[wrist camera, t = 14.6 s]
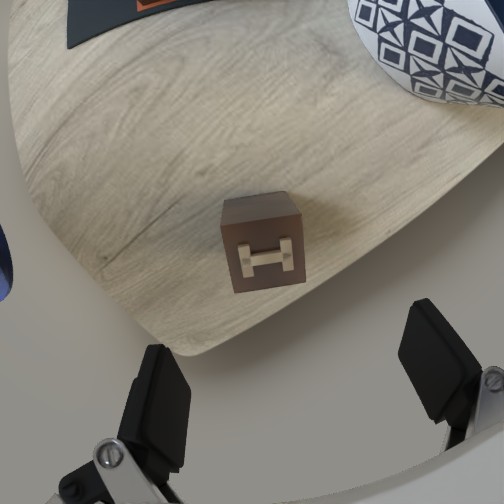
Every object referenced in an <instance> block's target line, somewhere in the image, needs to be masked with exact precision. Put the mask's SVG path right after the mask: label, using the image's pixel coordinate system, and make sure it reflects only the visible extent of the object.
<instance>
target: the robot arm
mask: <svg viewBox="0 0 504 504" xmlns="http://www.w3.org/2000/svg"><path fill="white" fill-rule="evenodd" d="M398 357H399V360H400V362H401V363H402V365H403V367H404V369H405V371H406V373H407V375H408V376H409V378H410V380H411V382H412V384H413V386H414V388H415V390H416V392H417V394H418V396H419V398H420V400H421V402H422V404H423V406H424V408H425V410H426V412H427V414H428V416H429V418H430V419H431V420H434V422H435V424H438V423H440V422H442V421H444V420H446V421H447V423H448V427H447V431H446V434H445V438H444V441H443V444H442V447H441V451H440V454H439V455H437V456H435V457H434V458H431V459H429V460H428V461H425V462H423V463H421V464H419V465H416V466H414V467H412V468H410V469H407V470H405V471H402V472H400V473H398V474H395V475H392V476H390V477H387V478H384V479H382V480H379V481H376V482H373V483H370V484H367V485H363V486H360V487H357V488H353V489H349V490H346V491H342V492H338V493H333V494H329V495H325V496H320V497H315V498H309V499H304V500H298V501H290V502H283V503H274V504H504V370H503V369H501V368H500V367H497V366H491V367H488V368H486V369H485V370H484V371H482V369H481V368H482V367H481V365H480V364H479V362H478V361H477V360H476V358H475V357H474V355H473V354H472V352H471V351H470V350H469V348H468V347H467V346H466V344H465V343H464V342H463V340H462V339H461V338H460V336H459V335H458V334H457V333H456V331H455V330H454V329H453V327H452V326H451V325H450V324H449V322H448V321H447V320H446V319H445V318H444V316H443V315H442V314H441V313H440V311H439V310H438V309H437V308H436V307H435V306H434V304H433V303H432V302H431V301H430V300H429V299H428V298H425V299H421V300H418V301H415V302H414V303H413V305H412V306H411V307H410V310H409V314H408V318H407V322H406V326H405V330H404V333H403V337H402V340H401V344H400V347H399V351H398ZM190 402H191V389H190V387H189V385H188V383H187V382H186V380H185V378H184V376H183V374H182V372H181V370H180V368H179V367H178V364H177V363H176V361H175V359H174V357H173V355H172V353H171V351H170V349H169V348H168V347H167V348H166V347H165V346H164V345H163V344H155V345H148V346H147V348H146V351H145V354H144V358H143V361H142V364H141V367H140V370H139V373H138V377H137V378H135V379H134V380H133V383H132V386H131V389H130V392H129V396H128V399H127V402H126V406H125V409H124V413H123V417H122V420H121V424H120V427H119V431H118V435H117V439H114V438H107V439H104V440H102V441H100V442H99V443H98V444H97V445H96V447H95V448H94V451H93V460H92V461H90V462H89V463H87V464H85V465H83V466H82V467H80V468H78V469H76V470H75V471H73V472H71V473H69V474H68V475H66V476H65V477H63V478H62V479H61V481H60V483H59V494H56V493H55V494H54V495H53V496H52V497H51V498H50V500H49V501H48V502H47V503H46V504H187V503H186V501H185V500H184V499H183V498H182V497H181V496H180V494H179V493H178V492H177V491H176V490H175V488H174V487H173V486H172V485H171V483H170V482H169V481H168V480H169V473H170V472H171V473H179V468H182V467H183V465H184V457H185V446H186V436H187V427H188V418H189V410H190Z"/></svg>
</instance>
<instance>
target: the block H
mask: <svg viewBox="0 0 504 504" xmlns="http://www.w3.org/2000/svg"><path fill="white" fill-rule="evenodd" d="M138 1H139V2H140V4H141V5H142V6H145V5H148V4H151V3H154V2H158V1H161V0H138Z"/></svg>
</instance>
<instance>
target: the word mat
mask: <svg viewBox="0 0 504 504" xmlns="http://www.w3.org/2000/svg"><path fill="white" fill-rule="evenodd" d="M206 1H212V0H161V1H158V2H154V3H151V4H148V5H145V6H142V5H141V4H140V2H139V1H138V0H68V17H67V49H71V48H73V47H75V46H77V45H79V44H81V43H83V42H85V41H87V40H89V39H91V38H93V37H95V36H97V35H99V34H102V33H104V32H106V31H108V30H111V29H113V28H116V27H118V26H121V25H123V24H126V23H129V22H131V21H134V20H137V19H140V18H143V17H146V16H149V15H152V14H156V13H159V12H162V11H166V10H170V9H174V8H178V7H182V6H186V5H191V4H195V3H200V2H206Z"/></svg>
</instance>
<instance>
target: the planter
mask: <svg viewBox="0 0 504 504" xmlns="http://www.w3.org/2000/svg"><path fill="white" fill-rule="evenodd" d="M347 2H348V7H349V13H350V16H351V19H352V22H353V25H354V27H355V29H356V31H357V33H358V35H359V37H360V39H361V40H362V42H363V44H364V45H365V47H366V49H367V50H368V51H369V53H370V54H371V55H372V57H373V58H374V59H375V61H376V62H377V63H378V64H379V65H380V66H381V67H382V68H383V70H384V71H385V72H386V73H387V74H388V75H390V76H391V77H392V78H393V79H394V80H395V81H396V82H397V83H399V84H400V85H401V86H402V87H404V88H405V89H407V90H408V91H410V92H411V93H413V94H415V95H416V96H419V97H421V98H423V99H425V100H428V101H432V102H437V103H453V104H468V105H480V106H489V107H498V108H504V0H347Z"/></svg>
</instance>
